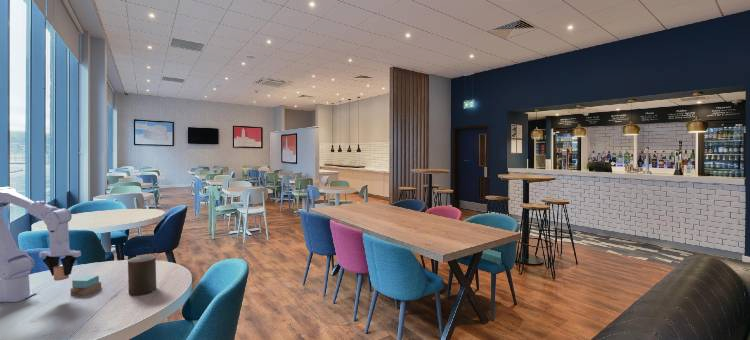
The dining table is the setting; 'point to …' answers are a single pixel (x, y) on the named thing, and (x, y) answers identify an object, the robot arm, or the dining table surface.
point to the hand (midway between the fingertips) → (61, 274)
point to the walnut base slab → (85, 290)
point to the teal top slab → (85, 281)
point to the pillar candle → (141, 275)
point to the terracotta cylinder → (59, 273)
